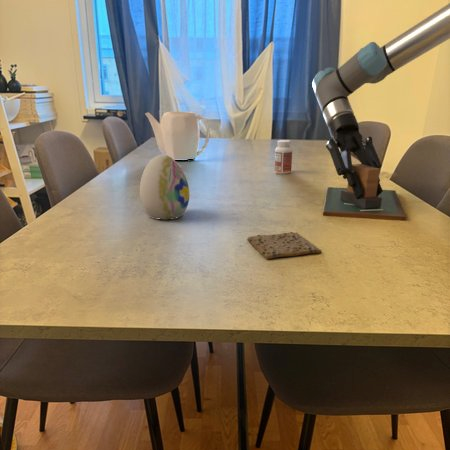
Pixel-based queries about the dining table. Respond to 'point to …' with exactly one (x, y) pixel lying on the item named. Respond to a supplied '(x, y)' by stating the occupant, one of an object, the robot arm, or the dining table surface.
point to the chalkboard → (339, 207)
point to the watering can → (179, 134)
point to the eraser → (364, 187)
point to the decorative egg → (164, 188)
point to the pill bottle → (283, 157)
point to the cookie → (282, 245)
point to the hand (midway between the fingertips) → (369, 195)
